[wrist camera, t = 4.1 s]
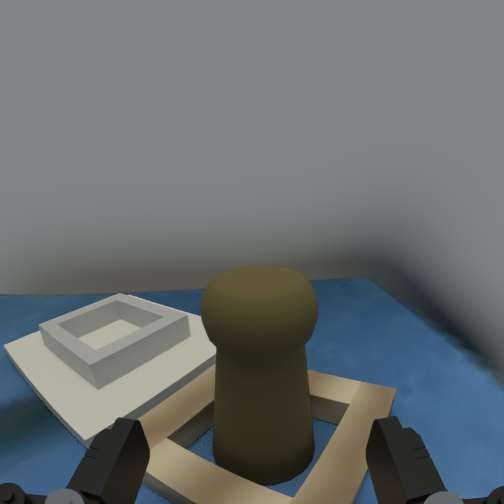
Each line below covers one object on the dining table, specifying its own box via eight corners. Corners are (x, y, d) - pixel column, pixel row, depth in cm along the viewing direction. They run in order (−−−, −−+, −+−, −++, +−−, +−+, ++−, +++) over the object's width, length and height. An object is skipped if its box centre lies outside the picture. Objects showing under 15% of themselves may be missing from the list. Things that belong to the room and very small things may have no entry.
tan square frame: (115, 461, 15) (105, 440, 14) (235, 369, 25) (234, 349, 24) (314, 570, 8) (320, 557, 8) (390, 410, 18) (396, 388, 18)
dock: (7, 355, 24) (-4, 325, 24) (130, 303, 39) (126, 278, 38) (91, 453, 15) (73, 414, 14) (249, 340, 30) (247, 307, 29)
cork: (281, 405, 20) (281, 248, 18) (335, 457, 15) (359, 277, 12) (198, 432, 18) (172, 266, 15) (238, 500, 13) (216, 312, 10)
